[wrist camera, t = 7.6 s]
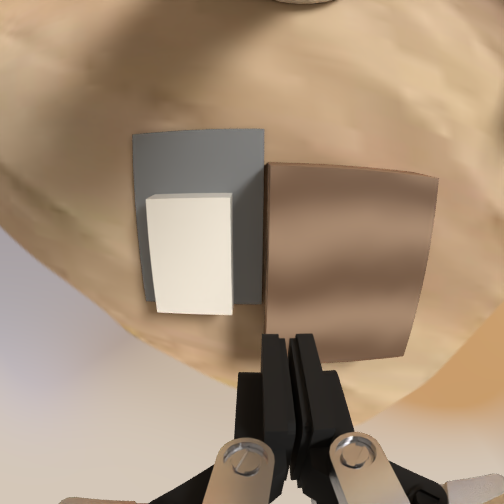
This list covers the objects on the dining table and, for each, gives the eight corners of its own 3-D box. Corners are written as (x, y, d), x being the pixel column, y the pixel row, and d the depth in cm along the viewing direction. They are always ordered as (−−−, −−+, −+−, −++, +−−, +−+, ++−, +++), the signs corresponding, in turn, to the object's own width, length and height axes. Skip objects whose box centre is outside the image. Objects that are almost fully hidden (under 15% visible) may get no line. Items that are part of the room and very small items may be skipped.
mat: (133, 134, 22) (132, 134, 21) (264, 129, 22) (264, 128, 21) (147, 299, 26) (146, 301, 26) (261, 302, 26) (261, 304, 26)
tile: (230, 197, 21) (232, 192, 23) (145, 199, 21) (154, 194, 23) (232, 315, 24) (233, 301, 26) (157, 312, 24) (164, 299, 26)
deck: (267, 162, 23) (270, 165, 19) (413, 172, 22) (438, 178, 19) (263, 336, 27) (265, 364, 24) (388, 331, 27) (403, 356, 24)
